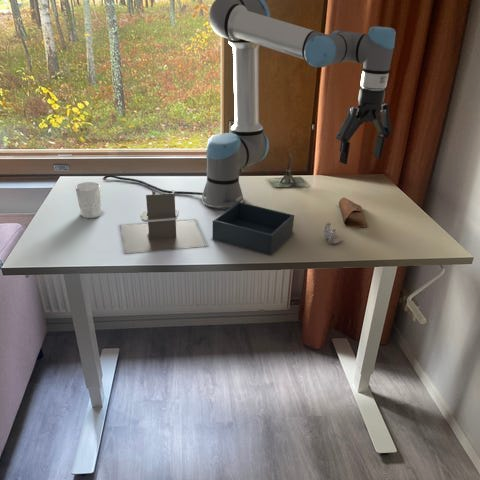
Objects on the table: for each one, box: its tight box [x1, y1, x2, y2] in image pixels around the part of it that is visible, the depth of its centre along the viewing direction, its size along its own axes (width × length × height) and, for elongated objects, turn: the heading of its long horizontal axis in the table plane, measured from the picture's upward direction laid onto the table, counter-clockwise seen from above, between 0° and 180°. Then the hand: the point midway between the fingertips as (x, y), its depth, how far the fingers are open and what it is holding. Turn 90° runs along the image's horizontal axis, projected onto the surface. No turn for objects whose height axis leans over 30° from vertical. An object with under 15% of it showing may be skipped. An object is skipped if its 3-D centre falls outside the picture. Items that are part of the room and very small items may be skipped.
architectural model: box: [120, 189, 207, 254], centre depth 159 cm, size 20×25×15 cm
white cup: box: [74, 181, 102, 219], centre depth 171 cm, size 8×8×10 cm
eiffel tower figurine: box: [266, 150, 310, 188], centre depth 202 cm, size 15×10×13 cm
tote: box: [212, 202, 295, 256], centre depth 163 cm, size 21×18×7 cm
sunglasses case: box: [338, 197, 368, 228], centre depth 180 cm, size 18×7×7 cm, turn 178°
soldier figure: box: [323, 221, 343, 245], centre depth 164 cm, size 8×5×12 cm
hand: (360, 160), depth 160 cm, fingers open, 13 cm apart
